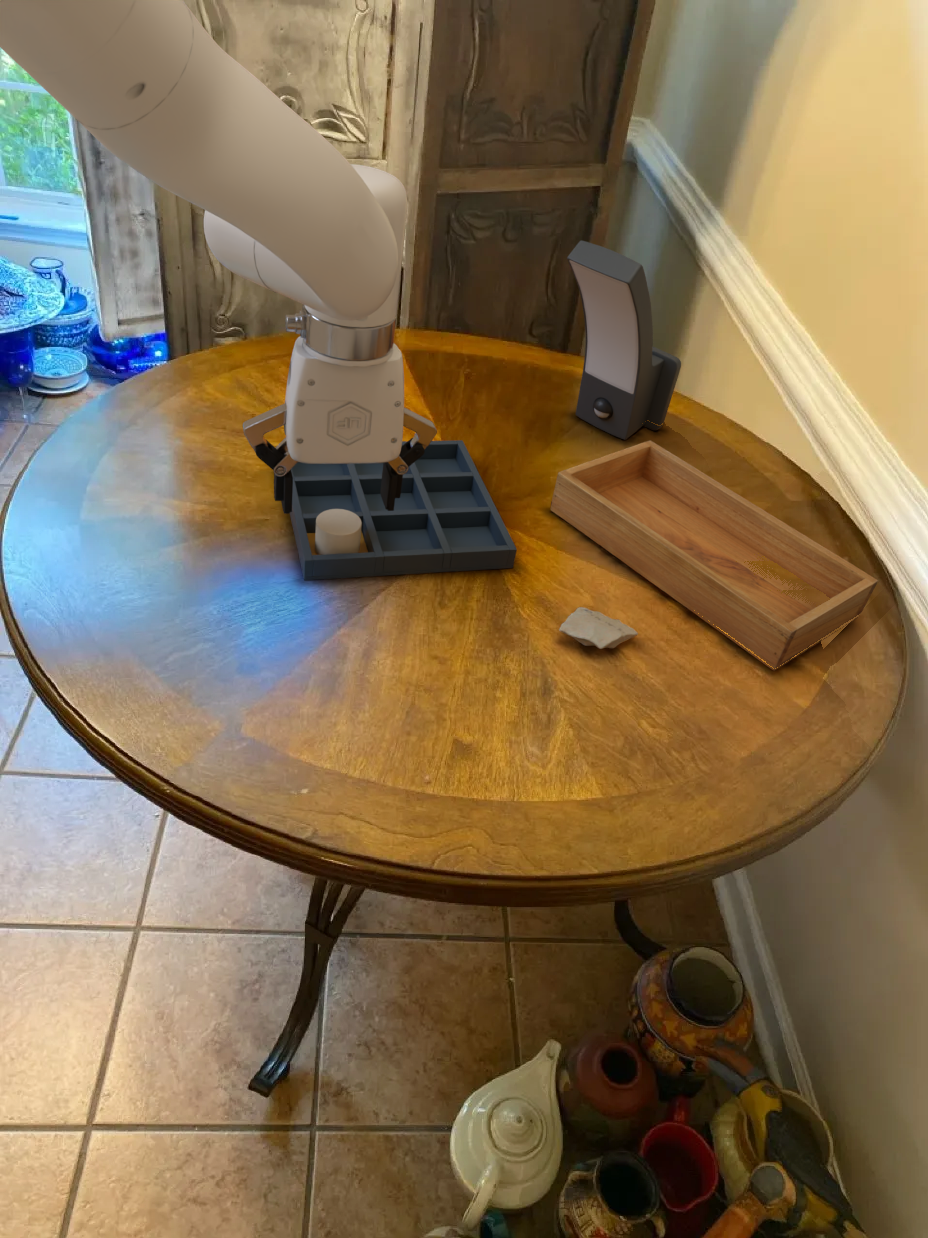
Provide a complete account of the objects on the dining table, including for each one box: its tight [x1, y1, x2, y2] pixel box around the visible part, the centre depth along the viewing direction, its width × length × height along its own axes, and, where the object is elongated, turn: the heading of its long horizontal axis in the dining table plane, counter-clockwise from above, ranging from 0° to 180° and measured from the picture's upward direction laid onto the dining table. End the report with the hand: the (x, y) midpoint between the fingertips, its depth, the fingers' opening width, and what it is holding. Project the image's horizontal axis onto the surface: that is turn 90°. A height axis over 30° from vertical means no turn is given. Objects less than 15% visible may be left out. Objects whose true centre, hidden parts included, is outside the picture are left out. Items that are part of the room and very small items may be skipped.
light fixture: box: [566, 240, 682, 441], centre depth 110 cm, size 11×17×24 cm, turn 140°
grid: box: [278, 439, 518, 581], centre depth 97 cm, size 21×21×2 cm
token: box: [315, 509, 362, 555], centre depth 90 cm, size 4×4×3 cm
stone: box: [558, 606, 639, 650], centre depth 86 cm, size 6×2×6 cm
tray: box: [550, 440, 879, 671], centre depth 96 cm, size 31×15×6 cm, turn 39°
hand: (337, 504), depth 87 cm, fingers open, 9 cm apart
